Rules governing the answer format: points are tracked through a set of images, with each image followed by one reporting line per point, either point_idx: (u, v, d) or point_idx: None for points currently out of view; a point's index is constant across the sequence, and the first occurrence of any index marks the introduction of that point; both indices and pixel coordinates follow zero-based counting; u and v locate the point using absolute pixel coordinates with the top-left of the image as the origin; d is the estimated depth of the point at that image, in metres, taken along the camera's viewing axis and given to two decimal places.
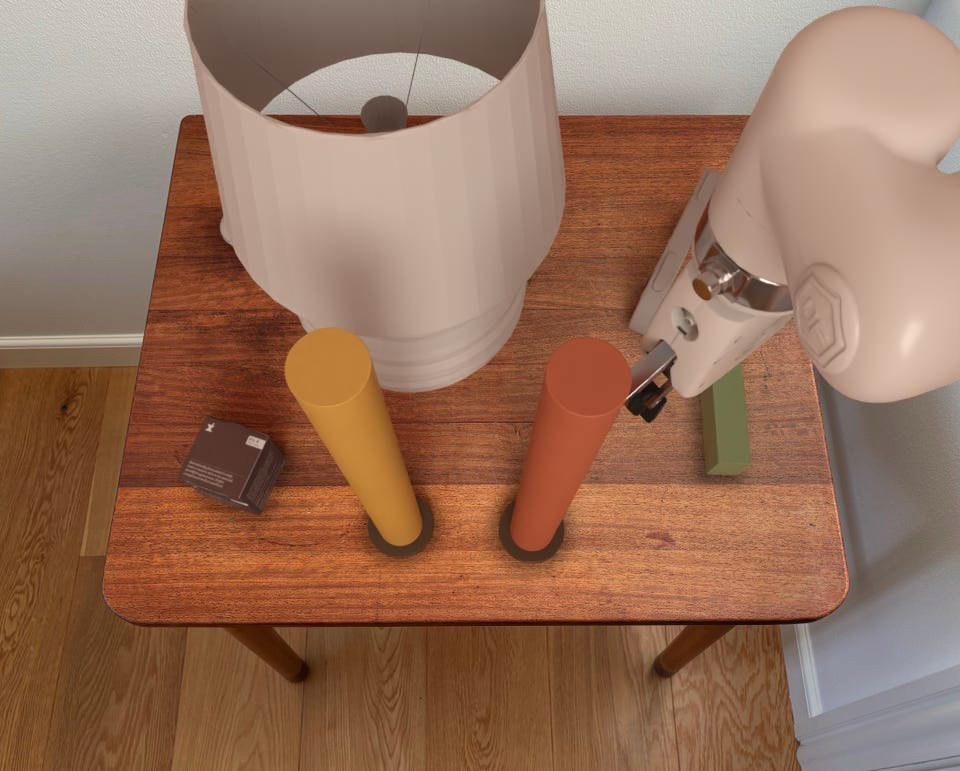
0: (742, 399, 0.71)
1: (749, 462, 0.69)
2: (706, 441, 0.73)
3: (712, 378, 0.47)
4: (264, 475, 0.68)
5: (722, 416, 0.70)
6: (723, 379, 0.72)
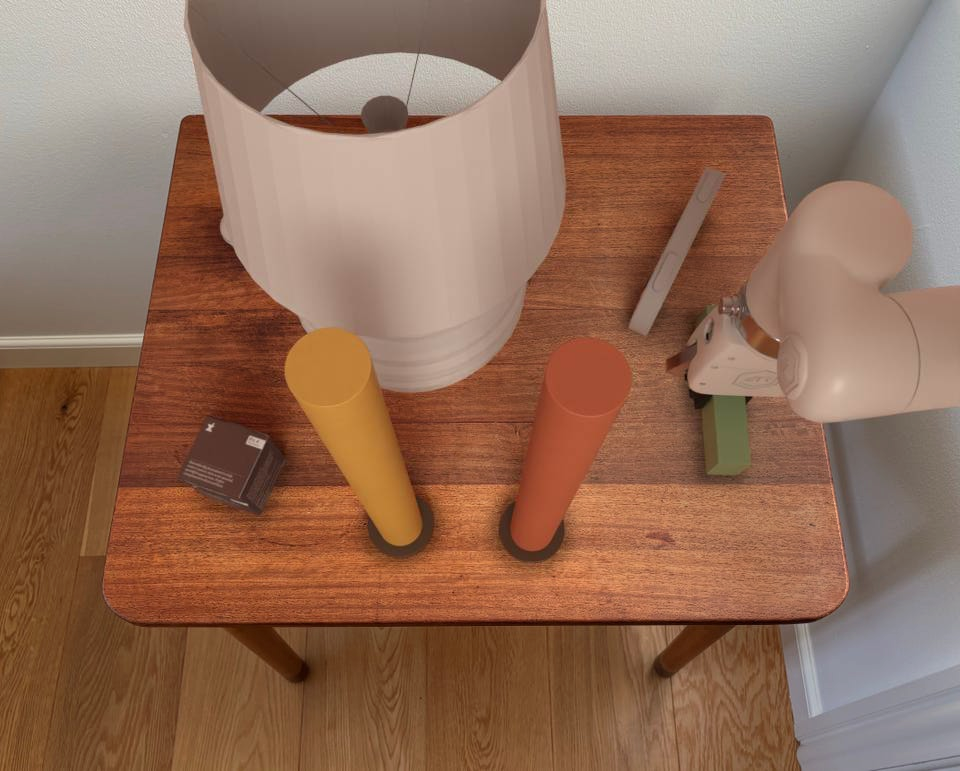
0: (742, 399, 0.71)
1: (749, 462, 0.69)
2: (706, 441, 0.73)
3: (711, 385, 0.66)
4: (264, 475, 0.68)
5: (722, 416, 0.70)
6: None
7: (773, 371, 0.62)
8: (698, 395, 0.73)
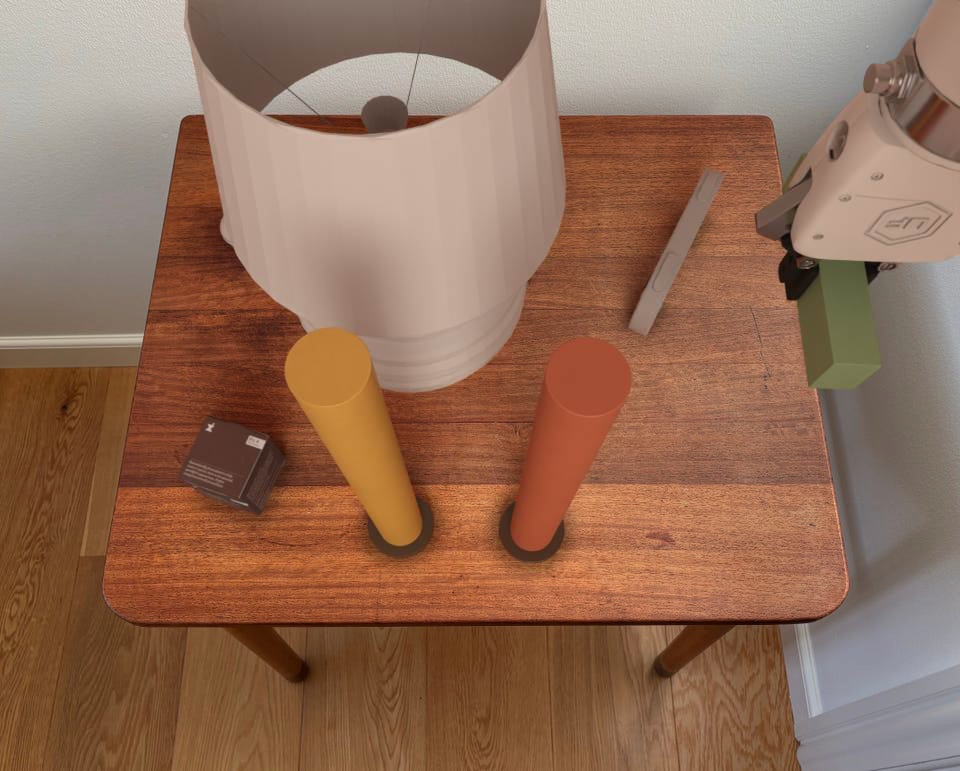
0: (862, 277, 0.49)
1: (879, 363, 0.47)
2: (808, 341, 0.51)
3: (831, 239, 0.44)
4: (264, 475, 0.68)
5: (834, 299, 0.48)
6: None
7: (937, 203, 0.40)
8: (795, 277, 0.51)
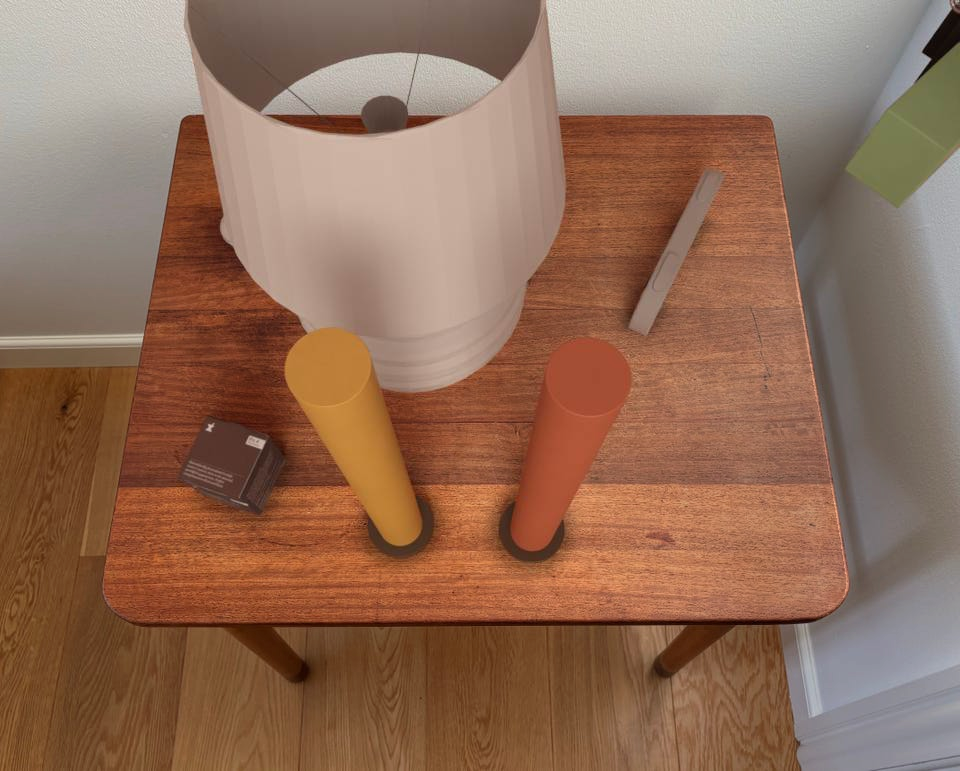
0: None
1: (946, 146, 0.31)
2: None
3: None
4: (264, 475, 0.68)
5: None
6: None
7: None
8: (942, 43, 0.35)
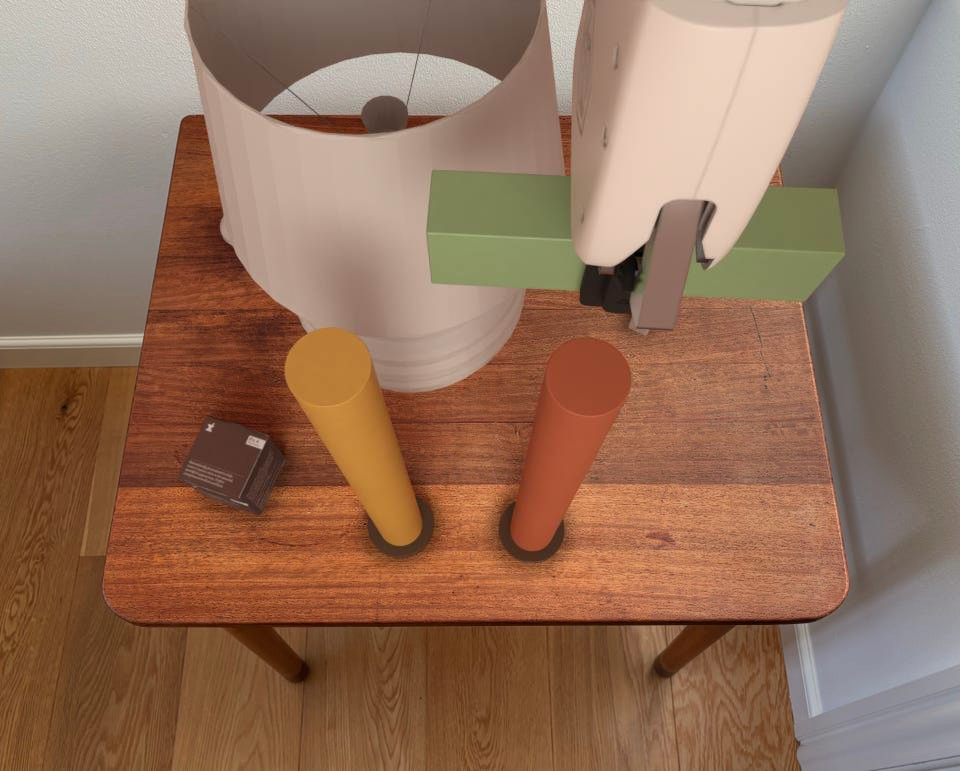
0: None
1: (430, 229, 0.29)
2: None
3: (581, 27, 0.26)
4: (264, 475, 0.68)
5: (545, 188, 0.30)
6: None
7: (594, 24, 0.21)
8: None
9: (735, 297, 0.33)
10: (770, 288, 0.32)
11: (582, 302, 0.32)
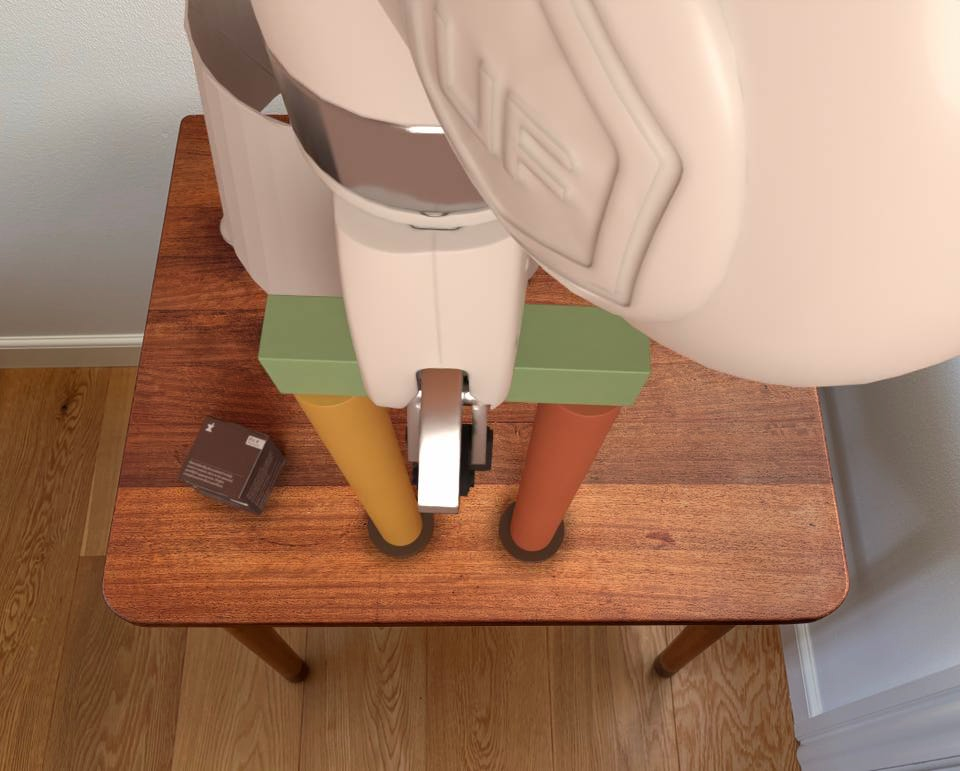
0: None
1: (261, 354, 0.31)
2: None
3: None
4: (264, 475, 0.68)
5: None
6: None
7: None
8: None
9: (567, 403, 0.34)
10: (595, 397, 0.34)
11: (416, 466, 0.31)
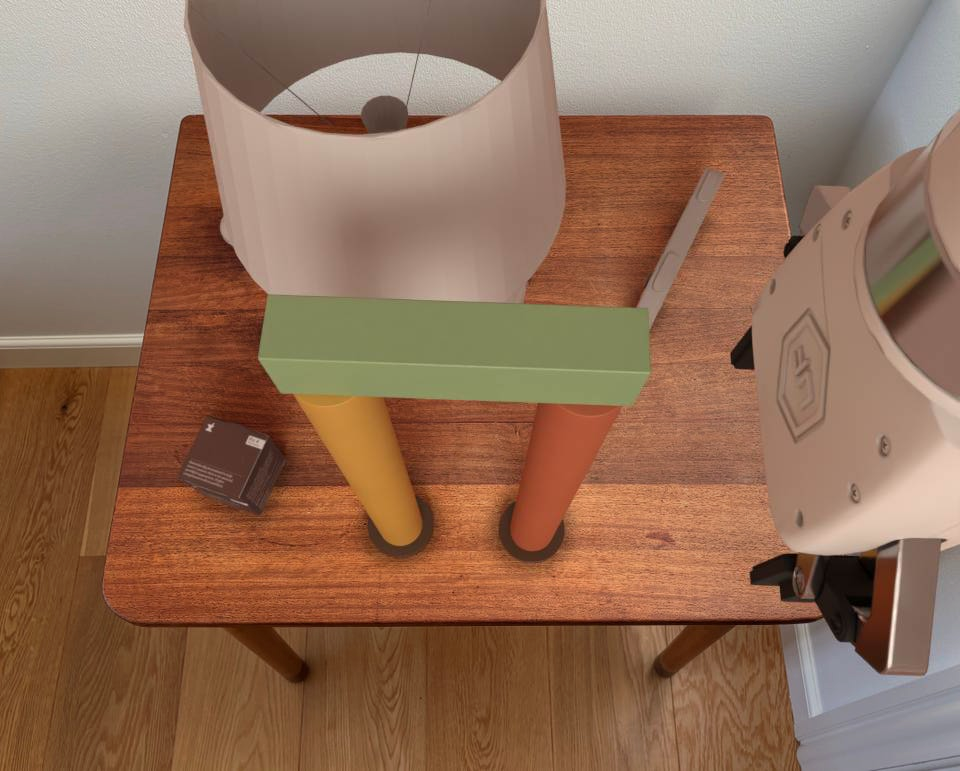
0: (410, 357, 0.31)
1: (261, 354, 0.31)
2: None
3: (771, 308, 0.27)
4: (264, 475, 0.68)
5: (372, 311, 0.32)
6: (460, 324, 0.32)
7: (829, 369, 0.22)
8: None
9: (567, 403, 0.34)
10: (595, 397, 0.34)
11: (753, 584, 0.31)
